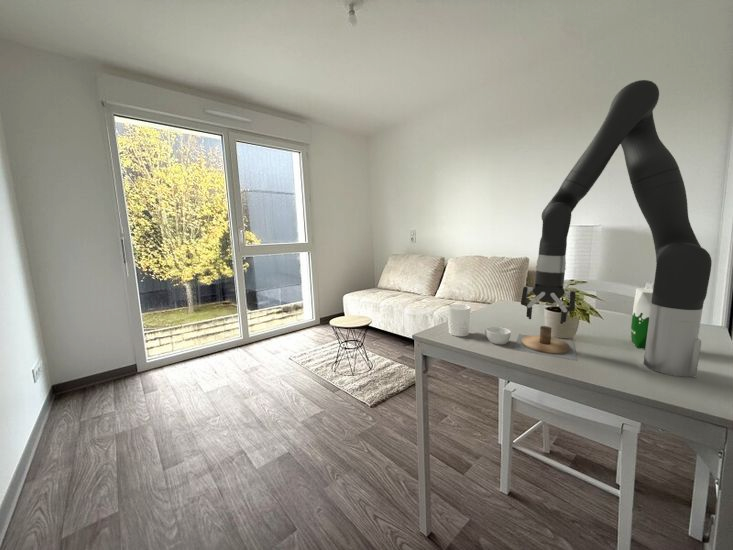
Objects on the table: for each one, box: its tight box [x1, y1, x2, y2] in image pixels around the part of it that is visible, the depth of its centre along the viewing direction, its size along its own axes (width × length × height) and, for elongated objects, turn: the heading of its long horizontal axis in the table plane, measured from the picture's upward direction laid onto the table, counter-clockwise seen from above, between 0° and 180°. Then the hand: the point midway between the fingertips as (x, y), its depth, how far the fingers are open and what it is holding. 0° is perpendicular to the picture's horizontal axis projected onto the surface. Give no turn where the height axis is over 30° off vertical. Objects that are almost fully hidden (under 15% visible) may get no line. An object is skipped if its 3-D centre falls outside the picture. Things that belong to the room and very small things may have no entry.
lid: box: [522, 325, 570, 354], centre depth 94 cm, size 13×13×6 cm
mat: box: [513, 333, 578, 362], centre depth 95 cm, size 16×16×1 cm
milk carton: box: [630, 287, 653, 349], centre depth 93 cm, size 9×9×20 cm
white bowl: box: [484, 326, 512, 345], centre depth 99 cm, size 10×10×5 cm
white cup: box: [447, 303, 472, 337], centre depth 108 cm, size 8×8×10 cm
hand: (545, 320), depth 94 cm, fingers open, 8 cm apart
